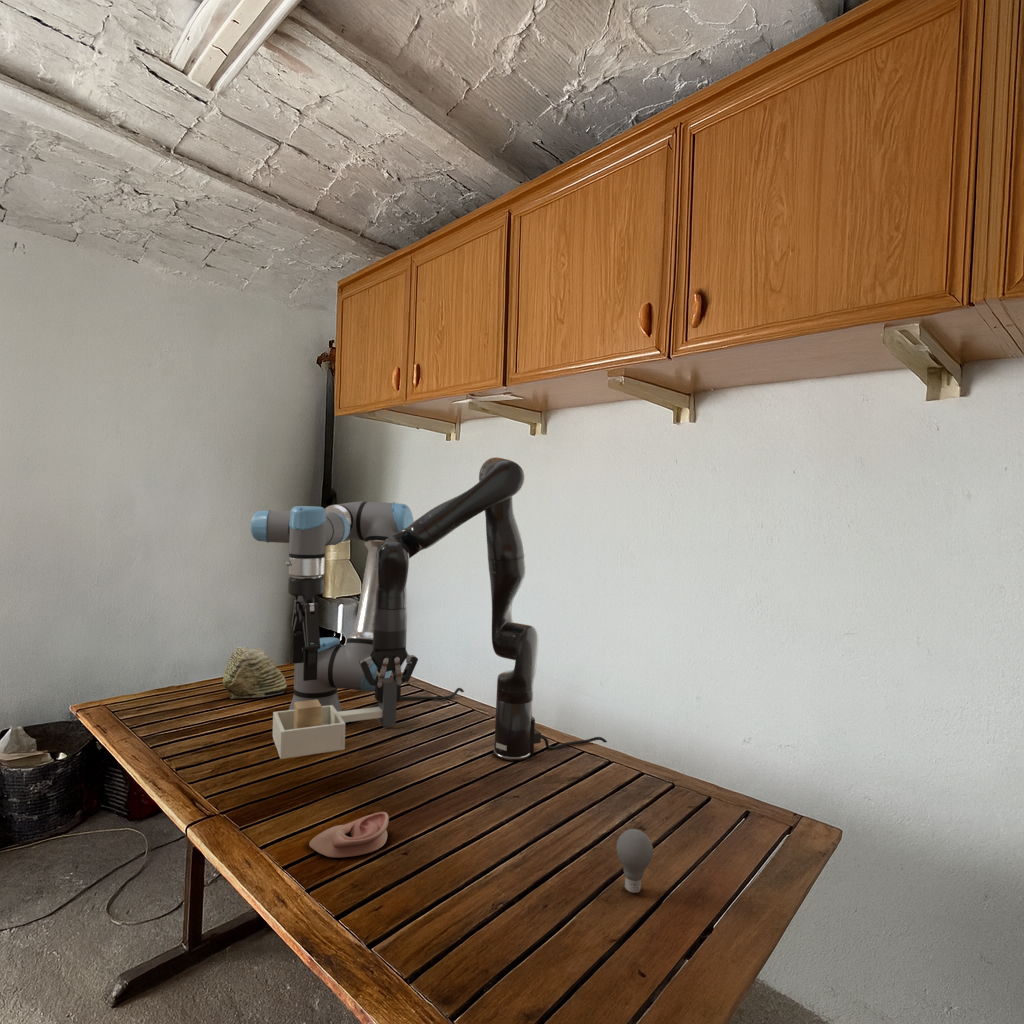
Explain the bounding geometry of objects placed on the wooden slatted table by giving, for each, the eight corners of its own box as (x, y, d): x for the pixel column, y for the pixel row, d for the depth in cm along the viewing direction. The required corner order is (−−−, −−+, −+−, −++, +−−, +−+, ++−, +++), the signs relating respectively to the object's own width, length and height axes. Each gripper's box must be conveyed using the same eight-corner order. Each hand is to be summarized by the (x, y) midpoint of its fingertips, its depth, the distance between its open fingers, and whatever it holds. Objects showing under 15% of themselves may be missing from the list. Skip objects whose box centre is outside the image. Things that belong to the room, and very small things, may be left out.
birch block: (316, 734, 141) (317, 699, 141) (320, 743, 136) (322, 706, 136) (293, 738, 139) (294, 701, 138) (296, 746, 134) (297, 709, 134)
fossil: (218, 695, 195) (220, 647, 195) (278, 685, 208) (279, 640, 207) (228, 703, 189) (230, 653, 188) (289, 692, 201) (290, 645, 201)
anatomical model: (300, 830, 112) (331, 801, 124) (300, 852, 112) (331, 821, 124) (370, 841, 110) (395, 810, 121) (369, 864, 110) (395, 831, 121)
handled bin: (385, 721, 152) (386, 672, 152) (401, 741, 141) (403, 687, 140) (272, 736, 140) (273, 683, 140) (280, 759, 129) (282, 700, 129)
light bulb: (610, 879, 108) (613, 822, 108) (644, 879, 109) (647, 822, 109) (619, 902, 102) (622, 840, 102) (655, 901, 103) (658, 840, 103)
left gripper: (279, 568, 149) (277, 657, 150) (299, 585, 127) (296, 689, 128) (312, 567, 153) (310, 654, 154) (336, 584, 131) (334, 685, 132)
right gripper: (363, 632, 139) (361, 710, 139) (424, 628, 145) (422, 702, 146) (355, 625, 145) (353, 699, 146) (414, 621, 152) (411, 693, 152)
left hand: (304, 671), depth 141 cm, fingers open, 13 cm apart
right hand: (387, 700), depth 146 cm, fingers closed on handled bin, 3 cm apart
